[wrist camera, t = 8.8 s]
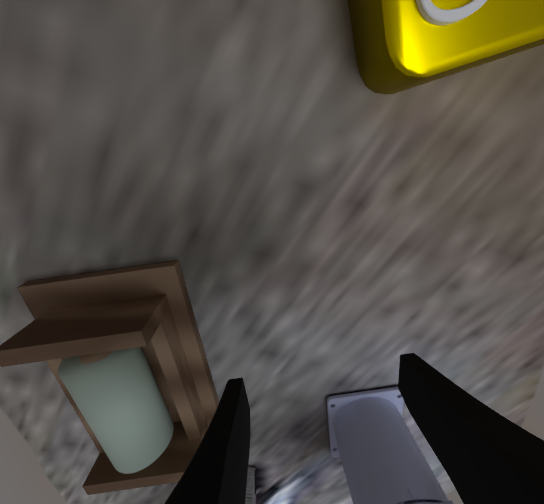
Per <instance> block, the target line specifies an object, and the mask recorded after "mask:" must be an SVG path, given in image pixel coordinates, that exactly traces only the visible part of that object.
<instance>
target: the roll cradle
mask: <svg viewBox="0 0 544 504" xmlns="http://www.w3.org/2000/svg"><path fill="white" fill-rule="evenodd" d="M17 289H18V290H19V292H20V294H21V296H22V297H23V299H24V301H25V303H26V305H27V306H28V308H29V310H30V312H31V313H32V315H33V317H34V319H35V320H34V321H33V322H32V323H30V324H29V325H27V326H26V327H25V328H23V329H22V330H21V331H19V332H18V333H17V334H15V335H14V336H12V337H11V338H10V339H8V340H7V341H6V342H4V343H3V344H2V345H0V366H1V367H3V366H10V365H17V364H24V363H31V362H39V361H46V362H47V364H48V365H49V367H50V369H51V370H52V372H53V374H54V375H55V377H56V379H57V381H58V382H59V384H60V386H61V387H62V389H63V391H64V392H65V394H66V396H67V398H68V399H69V401H70V403H71V404H72V406H73V408H74V409H75V411H76V413H77V415H78V416H79V418H80V420H81V421H82V423H83V425H84V427H85V428H86V430H87V432H88V433H89V435H90V437H91V438H92V440H93V442H94V444H95V445H96V447H97V449H98V450H99V452H100V454H99V456H98V458H97V460H96V462H95V464H94V466H93V467H92V469H91V471H90V473H89V475H88V477H87V479H86V481H85V482H84V484H83V486H82V487H83V488H84V490H85V491H86V493H87V494H88V495H90V494H97V493H104V492H111V491H118V490H125V489H132V488H139V487H146V486H153V485H160V484H167V483H174V482H179V480H180V479H181V477H182V475H183V474H184V472H185V470H186V468H187V467H188V465H189V463H190V461H191V460H192V458H193V456H194V454H195V452H196V450H197V449H198V447H199V445H200V443H201V441H202V439H203V437H204V435H205V433H206V431H207V429H208V427H209V425H210V422H211V420H212V418H213V416H214V414H215V412H216V409H217V407H218V405H219V401H218V397H217V394H216V390H215V387H214V383H213V380H212V376H211V373H210V369H209V366H208V362H207V359H206V355H205V352H204V348H203V345H202V341H201V338H200V335H199V331H198V328H197V324H196V321H195V317H194V314H193V310H192V307H191V303H190V300H189V296H188V293H187V289H186V286H185V282H184V279H183V275H182V272H181V268H180V265H179V261H178V260H177V261H170V262H163V263H156V264H149V265H141V266H134V267H127V268H120V269H113V270H106V271H99V272H91V273H84V274H77V275H70V276H63V277H56V278H49V279H41V280H34V281H28V282H26V283H24V284H22V285H21V286H19V287H17ZM137 347H142V350H143V352H144V354H145V357H146V359H147V361H148V364H149V366H150V369H151V371H152V373H153V376H154V378H155V380H156V383H157V385H158V387H159V390H160V392H161V395H162V397H163V399H164V402H165V404H166V406H167V409H168V411H169V414H170V416H171V418H172V421H173V425H174V429H173V435H172V438H171V440H170V442H169V444H168V446H167V448H166V449H165V450H164V452H163V453H162V454H161V455H160V456H159V457H158V458H157V459H156V460H155V461H154V462H153V463H152V464H150V465H149V466H148V467H146V468H144V469H142V470H140V471H138V472H135V473H130V474H124V473H120V472H118V471H117V470H116V469H115V468H114V466H113V465H112V463H111V461H110V460H109V458H108V456H107V455H106V453H105V451H104V450H103V448H102V446H101V445H100V443H99V441H98V440H97V438H96V436H95V435H94V433H93V431H92V430H91V428H90V426H89V425H88V423H87V421H86V420H85V418H84V416H83V415H82V413H81V412H80V410H79V408H78V407H77V405H76V403H75V402H74V400H73V398H72V397H71V395H70V393H69V392H68V390H67V388H66V387H65V385H64V383H63V382H62V380H61V378H60V377H59V375H58V367H59V365H60V363H61V362H62V360H63V359H64V358H67V357H74V356H81V355H88V354H95V353H102V352H109V351H116V350H123V349H130V348H137Z"/></svg>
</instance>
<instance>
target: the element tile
mask: <svg viewBox="0 0 544 504" xmlns="http://www.w3.org/2000/svg"><path fill="white" fill-rule="evenodd" d="M348 3H349V10H350V17H351V23H352V30H353V37H354V44H355V51H356V58H357V65H358V68H359V72H360V75H361V78H362V79H363V81H364V83H365V84H366V86H367V87H368V88H369V89H371V90H372V91H374V92H375V93H381V94H394V93H397V92H400V91H403V90H406V89H409V88H412V87H415V86H418V85H421V84H424V83H427V82H430V81H433V80H436V79H439V78H442V77H446V76H449V75H452V74H455V73H458V72H461V71H464V70H467V69H470V68H473V67H476V66H479V65H482V64H485V63H488V62H491V61H494V60H497V59H500V58H503V57H506V56H509V55H512V54H515V53H518V52H521V51H524V50H527V49H530V48H533V47H536V46H539V45H543V44H544V0H348Z"/></svg>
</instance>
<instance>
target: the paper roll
mask: <svg viewBox="0 0 544 504" xmlns="http://www.w3.org/2000/svg"><path fill="white" fill-rule="evenodd" d="M58 375H59V377H60V378H61V380H62V382H63V383H64V385H65V387H66V388H67V390H68V392H69V393H70V395H71V397H72V398H73V400H74V402H75V403H76V405H77V407H78V408H79V410H80V412H81V413H82V415H83V416H84V418H85V420H86V421H87V423H88V425H89V426H90V428H91V430H92V431H93V433H94V435H95V436H96V438H97V440H98V441H99V443H100V445H101V446H102V448H103V450H104V451H105V453H106V455H107V456H108V458H109V460H110V461H111V463H112V465H113V466H114V468H115V469H116V470H117V471H118V472H120V473H124V474H130V473H135V472H138V471H140V470H142V469H144V468H146V467H148V466H149V465H150V464H152V463H153V462H154V461H155V460H156V459H157V458H158V457H159V456H160V455H161V454H162V453H163V452H164V450H165V449H166V448H167V446H168V444H169V442H170V440H171V438H172V435H173V429H174V425H173V421H172V418H171V416H170V414H169V411H168V409H167V406H166V404H165V402H164V399H163V397H162V395H161V392H160V390H159V387H158V385H157V383H156V380H155V378H154V376H153V373H152V371H151V369H150V366H149V364H148V361H147V359H146V357H145V354H144V352H143V350H142V347H137V348H130V349H123V350H116V351H109V352H102V353H95V354H88V355H81V356H74V357H67V358H64V359H63V360H62V362H61V363H60V365H59V367H58Z"/></svg>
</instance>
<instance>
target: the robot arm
mask: <svg viewBox="0 0 544 504" xmlns="http://www.w3.org/2000/svg"><path fill="white" fill-rule="evenodd" d="M403 402H405V404H406V406H407V408H408V410H409V412H410V414H411V415H412V417H413V419H414V420H415V422H416V424H417V425H418V427H419V428H420V430H421V432H422V433H423V435H424V437H425V438H426V440H427V441H428V443H429V445H430V446H431V448H432V449H433V451H434V453H435V454H436V456H437V457H438V459H439V461H440V462H441V464H442V466H443V467H444V469H445V470H446V472H447V474H448V476H449V477H450V479H451V481H452V482H453V484H454V486H455V488H456V490H457V492H458V494H459V496H460V498H461V499H462V501H463V503H464V504H544V441H543V440H542V439H540V438H538V437H536V436H534V435H533V434H531V433H529V432H528V431H526V430H524V429H523V428H521V427H519V426H518V425H516V424H514V423H513V422H511V421H509V420H508V419H506V418H505V417H503V416H501V415H500V414H498V413H497V412H495V411H494V410H492V409H491V408H489V407H488V406H486V405H485V404H483V403H482V402H480V401H479V400H477V399H476V398H474V397H473V396H471V395H470V394H468V393H467V392H466V391H464V390H463V389H461V388H460V387H459V386H457V385H456V384H454V383H453V382H452V381H450V380H449V379H448V378H446V377H445V376H444V375H442V374H441V373H440V372H438V371H437V370H436V369H434V368H433V367H432V366H430V365H429V364H428V363H426V362H425V361H424V360H422V359H421V358H420V357H419V356H417V355H416V354H414V353H410V354H403V355H400V367H399V382H398V387H391V388H384V389H377V390H370V391H363V392H356V393H349V394H342V395H335V396H330V397H328V398H327V412H328V426H329V440H330V453H331V456H332V457H334V458H337V457H341V461H342V464H343V468H344V472H345V475H346V479H347V483H348V486H349V490H350V493H351V497H352V501H353V504H453V502H452V501H449V500H448V499H447V497H446V495H445V493H444V491H443V490H442V488H441V486H440V484H439V482H438V481H437V479H436V477H435V475H434V473H433V472H432V470H431V468H430V466H429V464H428V463H427V461H426V459H425V457H424V455H423V454H422V452H421V450H420V448H419V446H418V445H417V443H416V441H415V439H414V437H413V436H412V434H411V432H410V430H409V428H408V427H407V425H406V423H405V421H404V419H403V418H402V414H403ZM249 448H250V407H249V403H248V399H247V394H246V390H245V386H244V382H243V378H237V379H230V380H229V381H228V382H227V384H226V387H225V390H224V392H223V395H222V397H221V400H220V402H219V405H218V407H217V409H216V412H215V414H214V416H213V418H212V420H211V422H210V425H209V427H208V429H207V431H206V433H205V435H204V437H203V439H202V441H201V443H200V445H199V447H198V449H197V450H196V452H195V454H194V456H193V458H192V460H191V461H190V463H189V465H188V467H187V468H186V470H185V472H184V474H183V475H182V477H181V479H180V480H179V482H178V484H177V485H176V487H175V488H174V490H173V491H172V493H171V494H170V496H169V498H168V499H167V501H166V502H165V504H245V498H246V486H247V473H248V461H249Z"/></svg>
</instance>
